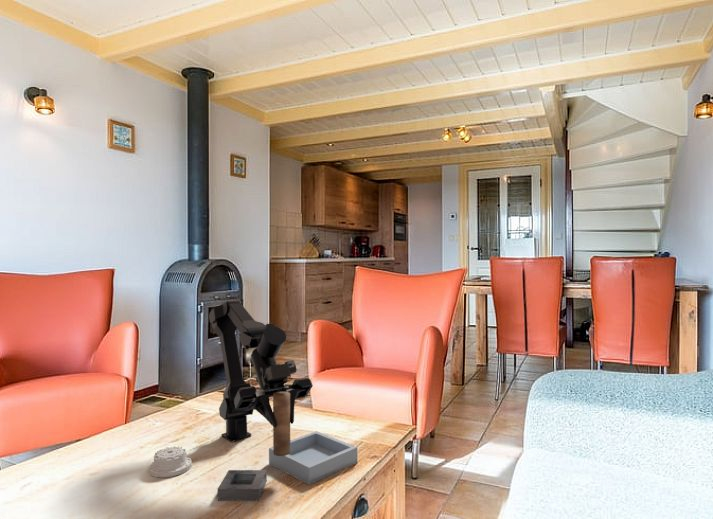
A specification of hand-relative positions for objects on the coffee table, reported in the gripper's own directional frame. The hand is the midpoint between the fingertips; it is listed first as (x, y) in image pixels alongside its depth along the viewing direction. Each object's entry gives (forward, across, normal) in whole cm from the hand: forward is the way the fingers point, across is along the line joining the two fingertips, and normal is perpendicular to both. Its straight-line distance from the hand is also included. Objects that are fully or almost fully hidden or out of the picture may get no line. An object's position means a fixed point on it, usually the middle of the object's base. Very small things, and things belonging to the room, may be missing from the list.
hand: (284, 424), depth 112 cm
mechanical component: (-5, -21, +25) cm, 33 cm away
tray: (+6, +10, +13) cm, 17 cm away
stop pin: (+4, 0, +6) cm, 7 cm away
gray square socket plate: (+9, -10, +10) cm, 17 cm away
